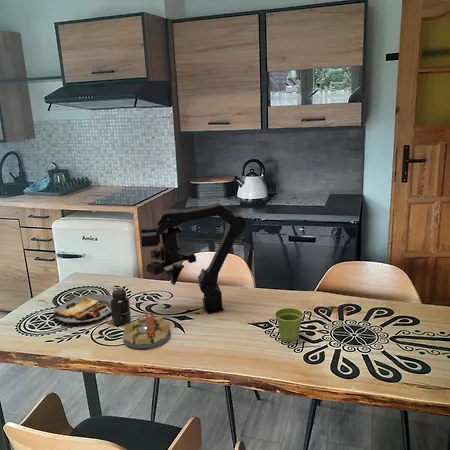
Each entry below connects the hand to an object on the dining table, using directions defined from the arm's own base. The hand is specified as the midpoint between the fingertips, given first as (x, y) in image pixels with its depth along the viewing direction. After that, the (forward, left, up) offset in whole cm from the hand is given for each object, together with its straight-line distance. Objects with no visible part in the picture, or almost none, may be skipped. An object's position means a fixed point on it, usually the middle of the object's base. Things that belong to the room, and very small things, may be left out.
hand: (173, 284), depth 169 cm
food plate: (+31, -18, -12) cm, 38 cm away
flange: (+14, +13, -12) cm, 23 cm away
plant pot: (-29, +35, -12) cm, 47 cm away
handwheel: (+14, +13, -10) cm, 22 cm away
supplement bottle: (+20, -3, -12) cm, 24 cm away
